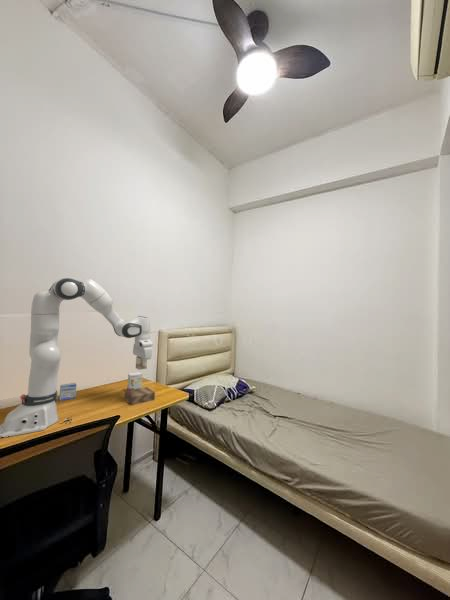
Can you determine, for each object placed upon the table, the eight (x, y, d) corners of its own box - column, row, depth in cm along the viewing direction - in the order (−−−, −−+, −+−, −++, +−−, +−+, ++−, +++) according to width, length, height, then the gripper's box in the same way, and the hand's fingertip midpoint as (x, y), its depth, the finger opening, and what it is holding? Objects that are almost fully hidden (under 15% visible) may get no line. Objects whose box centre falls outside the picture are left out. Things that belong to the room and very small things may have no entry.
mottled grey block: (138, 369, 144) (139, 358, 144) (135, 368, 148) (136, 356, 148) (146, 368, 147) (147, 357, 148) (143, 366, 151) (143, 355, 151)
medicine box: (60, 401, 139) (61, 386, 140) (59, 398, 143) (60, 384, 143) (75, 398, 144) (76, 384, 145) (74, 396, 148) (75, 382, 148)
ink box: (128, 393, 157) (129, 375, 157) (126, 390, 161) (127, 373, 161) (141, 390, 162) (142, 373, 162) (139, 388, 166) (140, 371, 166)
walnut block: (131, 405, 138) (132, 397, 138) (124, 399, 147) (125, 391, 147) (154, 400, 147) (154, 392, 148) (146, 394, 156) (146, 386, 156)
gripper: (130, 340, 153) (130, 361, 153) (143, 344, 138) (143, 368, 138) (140, 339, 158) (139, 360, 157) (154, 343, 143) (153, 366, 142)
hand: (141, 364), depth 148 cm, fingers closed on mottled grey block, 5 cm apart
